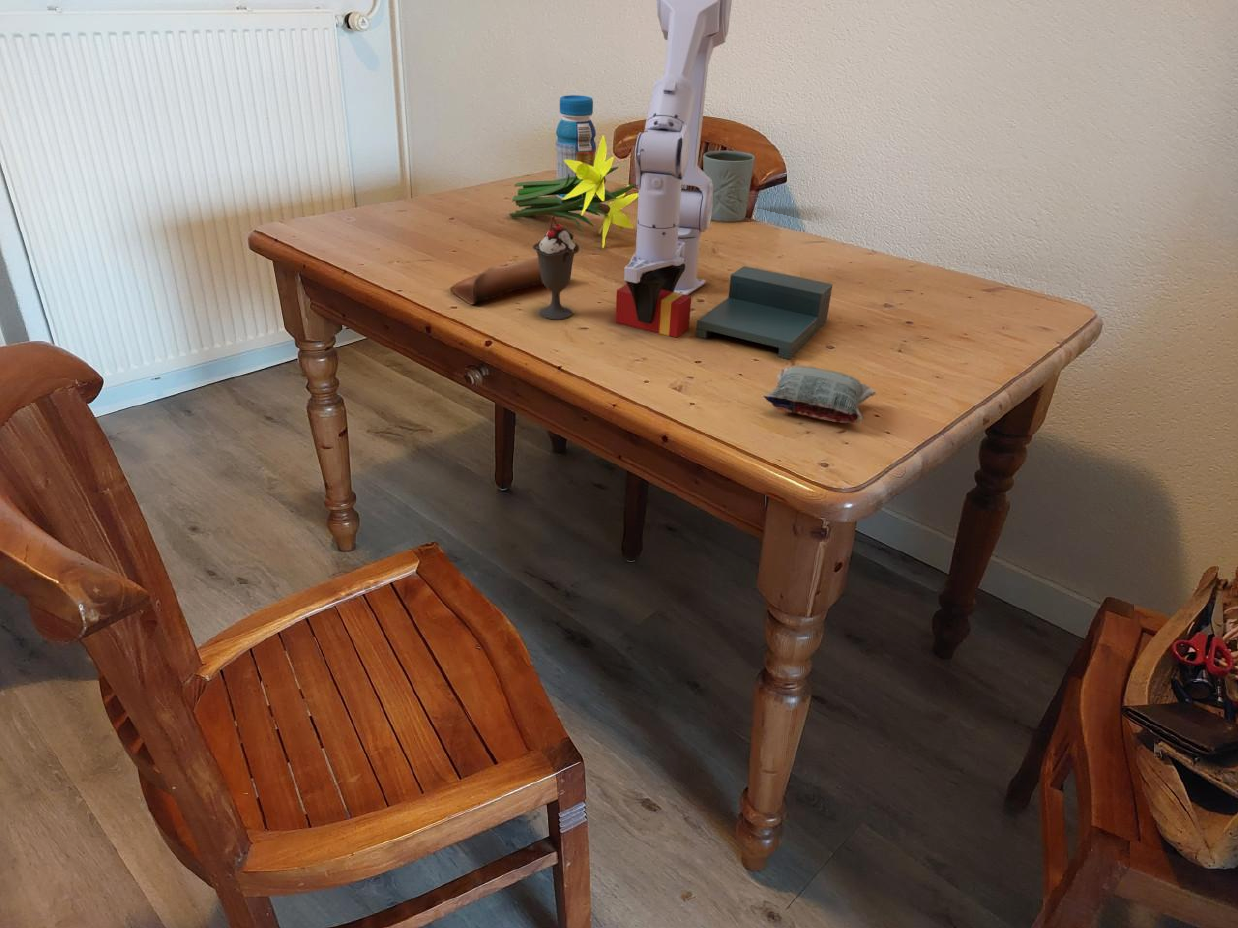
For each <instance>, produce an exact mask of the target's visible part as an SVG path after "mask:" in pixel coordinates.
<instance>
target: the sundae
mask: <svg viewBox="0 0 1238 928" xmlns="http://www.w3.org/2000/svg"><path fill="white" fill-rule="evenodd" d="M555 218H556V217H555V216H551V219H552V220H551V222H550V225H549V226H550V228H549V229H548V230H547V232H546V233H545V234H544V236H543V238H542V240H540V241H538V242H535V244H534V245H532V246H531V248H532V249H533V250H535V251H536V253H537V254H536V255H537V258H538V260H539V266H540V274H541V278H542V283H543V285H544V287H545V288H546V289H547V290H549V291H550V292H551V302H550V305H549V306H546V307H543V308H541V309H540V310H539V312H538V315H539V316H540V317H542V318H543V319H547V320H552V321H553V320H555V321H559V320H566V319H568V318H570V317H572V315H573V311H572V310H571V309H570V308H567V307H565V306H562V305H561V292H562V291H563V290H564V289H566V288H567V287H568V286H569V284H570V281H571V276H572V271H573V262H574V256H575V255H576V254H578V252H579V250H580V246H579V244H578V243H577V242H574V241H573V239H574V233H572V232H571V231H569V230H568V229H567V228H565V227H564V226H563V225H562V224H560V223H557V222H556V221H555ZM553 222H554V224H555V225H554V226H553Z"/></svg>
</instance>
